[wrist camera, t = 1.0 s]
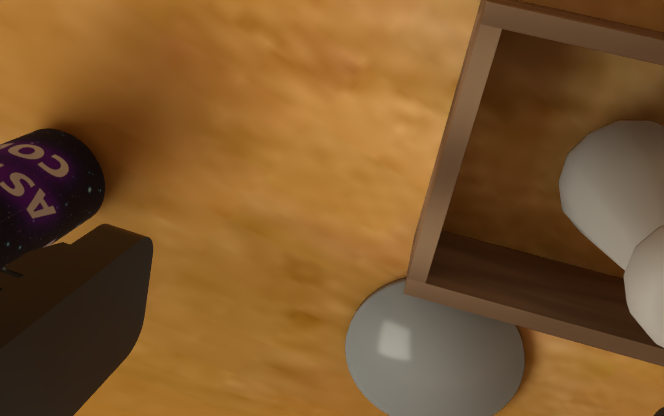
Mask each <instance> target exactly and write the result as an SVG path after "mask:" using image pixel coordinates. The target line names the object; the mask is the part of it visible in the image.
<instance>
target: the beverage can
mask: <svg viewBox="0 0 664 416" xmlns="http://www.w3.org/2000/svg"><path fill="white" fill-rule="evenodd" d="M104 194H105V182H104V176H103V173H102V170H101V167H100V165H99V163H98V161H97V159H96V158H95V156H94V155H93V153H92V152H91V151H90V150H89V149H88V147H87V146H86V145H84V144H83V143H82V142H81V141H80V140H78V139H77V138H76V137H74V136H72V135H70V134H68V133H66V132H63V131H60V130H56V129H40V130H36V131H34V132H31V133H29V134H26V135H24V136H21V137H19V138H16V139H13V140H11V141H8V142H6V143H3V144H1V145H0V272H1V271H2V268H3V267H4V266H6V265H8V264H9V263H11V262H13V261H14V260H16V259H17V258H19V257H21V256H22V255H24V254H26V253H27V252H29V251H33V250H36V249H40V248H44V247H47V246H50V245H51V244H53V243H54V242H56V241H57V240H59V239H60V238H62V237H63V236H64V235H66V234H67V233H69V232H70V231H72V230H73V229H75V228H76V227H78V226H79V225H80V224H82V223H83V222H85V221H86V220H88V219H89V218H91V217H92V216H93V215H94V214H95V213H96V212H97V211H98V210H99V208H100V207H101V205H102V202H103V199H104Z"/></svg>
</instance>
